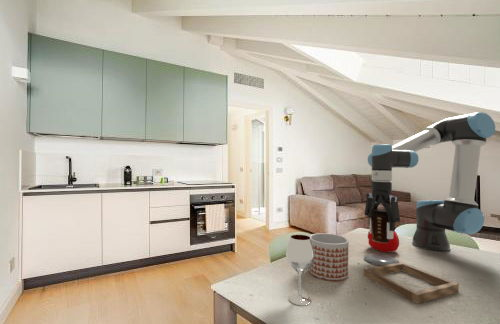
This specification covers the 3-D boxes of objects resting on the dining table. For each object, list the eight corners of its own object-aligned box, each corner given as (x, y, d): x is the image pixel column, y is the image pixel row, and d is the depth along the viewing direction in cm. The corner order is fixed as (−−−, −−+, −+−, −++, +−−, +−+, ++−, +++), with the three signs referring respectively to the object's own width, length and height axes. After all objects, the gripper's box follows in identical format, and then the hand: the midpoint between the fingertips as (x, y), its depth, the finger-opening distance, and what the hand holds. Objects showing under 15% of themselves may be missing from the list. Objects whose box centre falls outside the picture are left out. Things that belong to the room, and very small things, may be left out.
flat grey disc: (379, 253, 111) (379, 252, 111) (407, 264, 98) (407, 263, 98) (357, 257, 106) (357, 255, 106) (383, 269, 94) (383, 267, 94)
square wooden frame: (401, 268, 94) (401, 262, 94) (458, 292, 77) (458, 284, 77) (364, 276, 87) (364, 268, 87) (417, 303, 70) (417, 294, 70)
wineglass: (319, 299, 71) (319, 237, 72) (305, 311, 65) (306, 243, 66) (295, 289, 77) (295, 232, 77) (280, 300, 71) (280, 237, 71)
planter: (301, 271, 90) (301, 237, 91) (322, 262, 99) (322, 231, 99) (334, 285, 80) (335, 246, 80) (355, 274, 89) (355, 239, 89)
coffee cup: (388, 239, 105) (389, 208, 106) (396, 244, 97) (396, 212, 98) (367, 237, 107) (367, 207, 107) (372, 243, 99) (372, 210, 99)
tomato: (400, 259, 112) (370, 252, 122) (405, 234, 117) (376, 229, 127) (391, 249, 105) (360, 242, 116) (396, 222, 110) (366, 217, 121)
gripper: (355, 179, 111) (355, 230, 110) (397, 182, 92) (397, 243, 91) (368, 179, 114) (367, 229, 113) (411, 182, 95) (411, 242, 94)
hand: (381, 235), depth 102 cm, fingers closed on coffee cup, 8 cm apart
